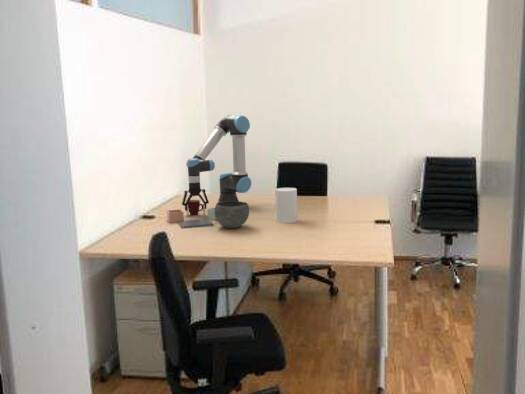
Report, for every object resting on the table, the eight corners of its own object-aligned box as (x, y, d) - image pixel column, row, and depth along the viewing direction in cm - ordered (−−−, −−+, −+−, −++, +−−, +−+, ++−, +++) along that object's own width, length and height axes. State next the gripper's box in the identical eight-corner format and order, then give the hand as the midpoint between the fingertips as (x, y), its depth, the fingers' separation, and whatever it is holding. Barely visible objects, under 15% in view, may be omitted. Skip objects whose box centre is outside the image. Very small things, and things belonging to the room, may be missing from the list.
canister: (283, 217, 376) (282, 187, 373) (301, 219, 369) (300, 188, 365) (271, 221, 366) (270, 190, 362) (289, 223, 358) (289, 191, 354)
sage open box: (218, 217, 381) (218, 207, 379) (225, 219, 374) (225, 208, 373) (208, 219, 376) (207, 208, 375) (215, 221, 370) (214, 210, 368)
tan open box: (181, 219, 377) (180, 209, 375) (183, 222, 368) (183, 211, 367) (167, 221, 374) (166, 210, 373) (169, 223, 365) (169, 213, 364)
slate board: (207, 220, 373) (207, 218, 373) (213, 225, 358) (213, 223, 358) (176, 223, 367) (176, 221, 367) (181, 228, 352) (181, 226, 352)
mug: (200, 213, 395) (199, 198, 393) (205, 215, 388) (205, 200, 387) (186, 215, 390) (185, 200, 388) (191, 217, 383) (190, 202, 381)
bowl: (242, 232, 339) (241, 207, 336) (209, 230, 346) (208, 205, 344) (254, 224, 358) (254, 200, 356) (223, 222, 366) (222, 199, 363)
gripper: (210, 179, 392) (211, 212, 396) (176, 182, 385) (177, 215, 389) (212, 181, 385) (214, 214, 389) (178, 184, 378) (179, 217, 382)
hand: (196, 214), depth 389 cm, fingers closed on mug, 10 cm apart
